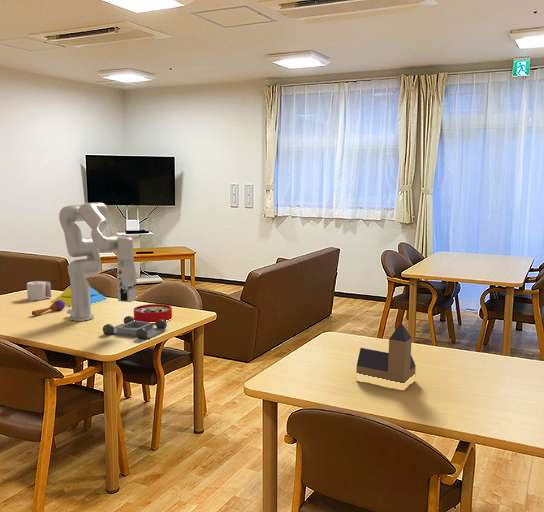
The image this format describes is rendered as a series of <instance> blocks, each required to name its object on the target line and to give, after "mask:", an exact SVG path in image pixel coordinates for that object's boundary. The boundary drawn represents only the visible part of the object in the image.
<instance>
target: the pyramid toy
mask: <svg viewBox="0 0 544 512" xmlns="http://www.w3.org/2000/svg"><path fill="white" fill-rule="evenodd" d="M106 299H108V298H107V297H106V296H104V295H103V294H101V293H100V292H99V291H97V290H95V289H94V288H93V287H92V286H90V304H92V303H96V302H99V303H101V302H100V301H103V300H106ZM57 300H62V301H63V302H64V303H65V305H70V306H69V307H71V306H72V301H71V285H70V286H69V287H68V288H66V290H65V291H63V292H62V293H60V295H59V296H57V297H56V298H55V299H53V300H52V301H51V302H50V304H52V303H54V302H55V301H57ZM103 302H104V301H103ZM96 304H97V303H96ZM92 305H93V304H92Z"/></svg>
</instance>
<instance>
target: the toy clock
mask: <svg viewBox="0 0 544 512" xmlns="http://www.w3.org/2000/svg"><path fill="white" fill-rule="evenodd" d="M133 318H134V320H135V321H142V322H157V321H159V320H165V321H166V320H169V319H171V318H172V319H173V307H172V306H171V305H168V304H161V303H160V304H159V303H156V304H155V303H151V304H150V303H149V304H143V305H138V306H136V307H134V308H133ZM172 319H171V320H172ZM169 321H170V320H169Z"/></svg>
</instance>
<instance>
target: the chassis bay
mask: <svg viewBox="0 0 544 512" xmlns="http://www.w3.org/2000/svg"><path fill="white" fill-rule="evenodd" d="M155 326H156V327H154V324H153V323H150V322H142V321H134V316H132V315H128V316H127V315H126V316H125V317H124V318H123V323H120V324H118V325H115V326H113V325H112V324H110V323H107V324H105V325H103V327H102V332H103V334H105V336H111V335H114V334H116V335H115V336H122V335H123V336H122V337H129V336H131V337H132V338H137V337H138V338H137V339H139V340H141V339H142V340H145V338H148V339H147V340H151V339H153V338H155V337H157V336H159V335H161V334H163V333H162V332H163V331H165V330H167V327H168V326H167V322H166V321H165V320H159V321H157V322H156V323H155ZM160 333H161V334H160ZM158 334H159V335H158ZM156 335H157V336H156ZM154 336H155V337H154ZM152 337H153V338H152ZM150 338H151V339H150Z"/></svg>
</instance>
